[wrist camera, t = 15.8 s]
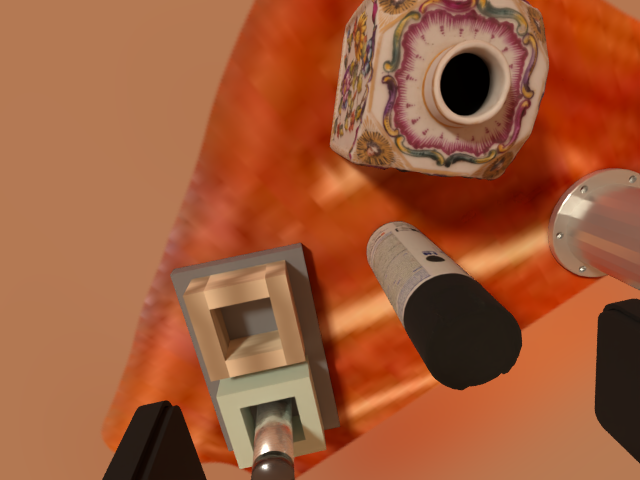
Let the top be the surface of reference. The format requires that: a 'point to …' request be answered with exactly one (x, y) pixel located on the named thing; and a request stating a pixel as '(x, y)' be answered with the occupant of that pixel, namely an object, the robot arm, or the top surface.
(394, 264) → the spray can
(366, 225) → the top surface
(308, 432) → the sage dock
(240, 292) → the maple mount
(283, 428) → the steel pin
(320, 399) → the base board
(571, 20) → the top surface
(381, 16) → the decorative jar
